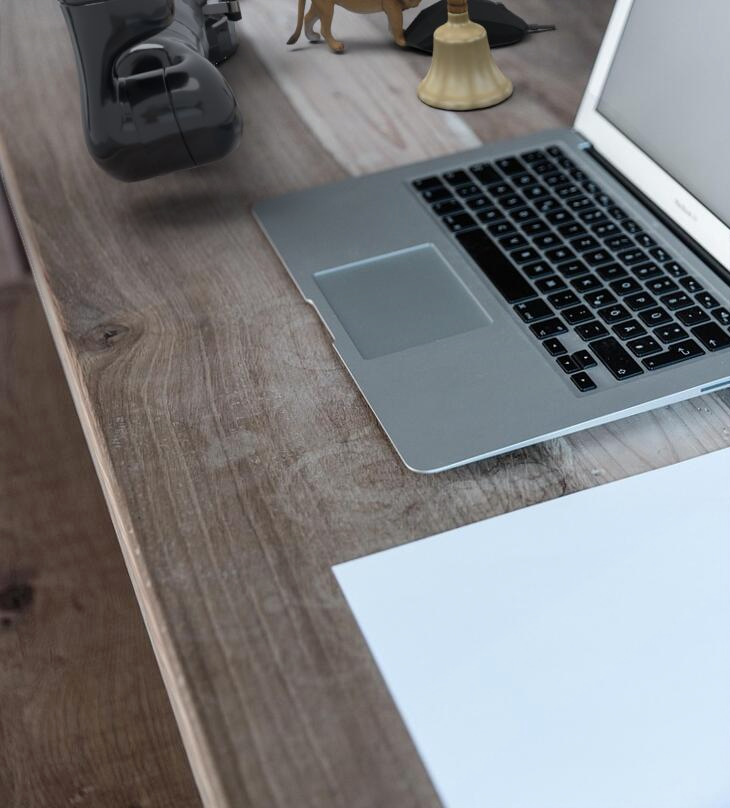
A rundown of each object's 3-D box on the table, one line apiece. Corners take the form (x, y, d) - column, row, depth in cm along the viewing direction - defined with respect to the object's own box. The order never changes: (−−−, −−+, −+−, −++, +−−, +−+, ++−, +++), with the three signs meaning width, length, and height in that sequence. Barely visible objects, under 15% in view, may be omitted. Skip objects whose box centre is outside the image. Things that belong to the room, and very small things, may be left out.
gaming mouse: (565, 39, 115) (564, -3, 112) (412, 60, 110) (407, 17, 108) (545, 17, 119) (543, -23, 117) (397, 37, 115) (392, -5, 113)
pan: (100, 86, 105) (89, 47, 103) (102, 38, 115) (92, 1, 113) (243, 70, 109) (236, 31, 106) (234, 24, 118) (227, -12, 116)
